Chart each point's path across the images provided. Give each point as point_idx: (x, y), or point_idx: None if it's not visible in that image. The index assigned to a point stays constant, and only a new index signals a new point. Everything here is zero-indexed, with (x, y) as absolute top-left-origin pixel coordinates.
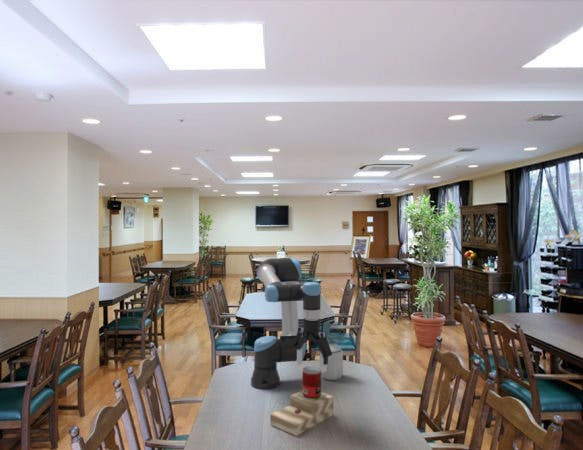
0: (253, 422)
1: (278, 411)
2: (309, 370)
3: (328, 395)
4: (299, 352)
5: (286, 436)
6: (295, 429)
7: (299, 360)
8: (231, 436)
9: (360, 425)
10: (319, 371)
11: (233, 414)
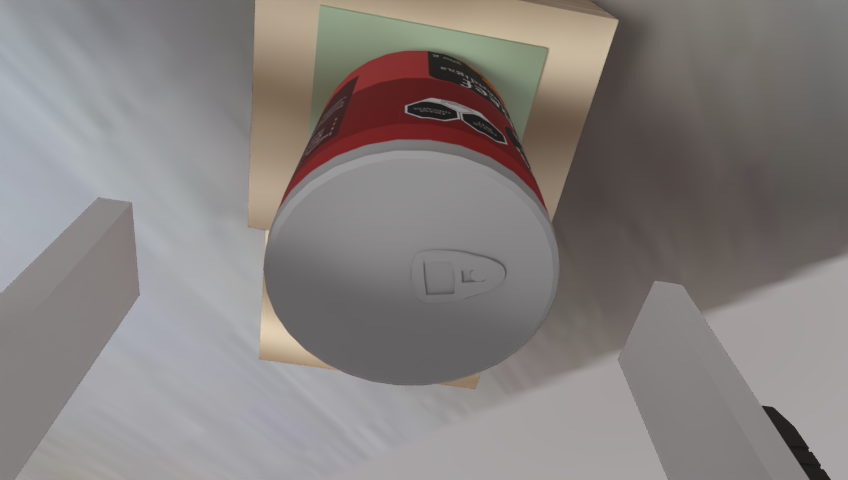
0: (182, 345)
1: (272, 310)
2: (386, 301)
3: (565, 33)
4: (11, 439)
5: None
6: None
7: (105, 312)
8: (212, 470)
9: (824, 41)
10: (555, 292)
11: None
